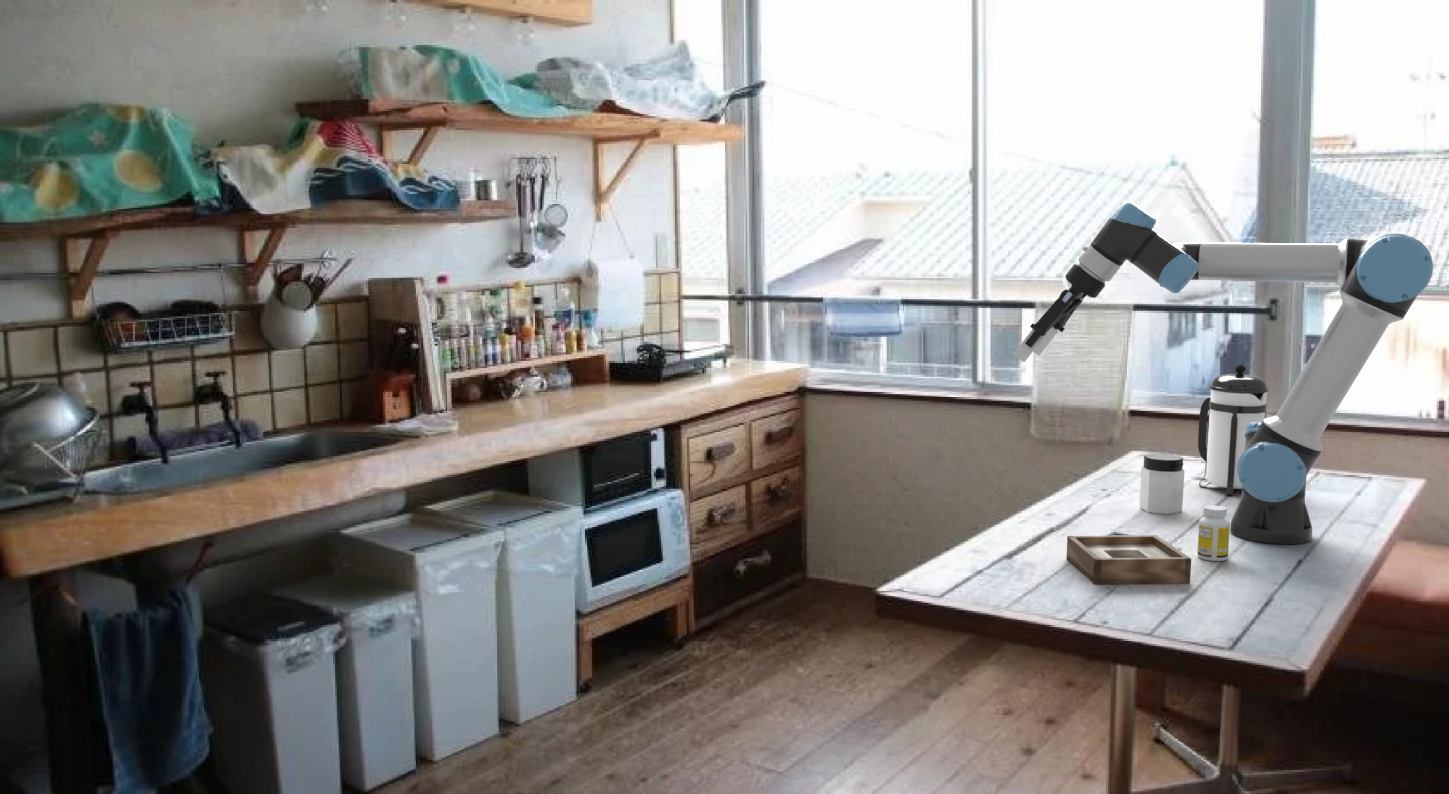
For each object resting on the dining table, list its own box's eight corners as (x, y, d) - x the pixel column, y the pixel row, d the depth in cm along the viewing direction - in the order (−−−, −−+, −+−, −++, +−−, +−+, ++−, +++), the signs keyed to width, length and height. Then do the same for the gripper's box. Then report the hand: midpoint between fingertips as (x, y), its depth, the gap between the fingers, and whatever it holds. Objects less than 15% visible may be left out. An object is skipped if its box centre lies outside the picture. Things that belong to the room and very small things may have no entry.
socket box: (1155, 558, 231) (1156, 535, 231) (1189, 583, 215) (1191, 558, 215) (1066, 559, 231) (1067, 536, 230) (1094, 584, 215) (1095, 559, 214)
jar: (1163, 516, 263) (1166, 461, 262) (1132, 508, 270) (1134, 455, 268) (1189, 511, 268) (1192, 457, 267) (1158, 503, 275) (1160, 451, 273)
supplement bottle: (1226, 555, 233) (1230, 505, 232) (1228, 563, 228) (1231, 512, 227) (1196, 553, 235) (1199, 503, 234) (1197, 560, 230) (1200, 509, 228)
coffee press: (1272, 487, 292) (1280, 362, 288) (1261, 500, 279) (1269, 369, 274) (1196, 478, 301) (1203, 357, 297) (1181, 490, 288) (1189, 364, 283)
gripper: (1088, 259, 256) (1025, 338, 264) (1064, 262, 234) (997, 349, 242) (1117, 280, 254) (1053, 359, 262) (1095, 286, 232) (1027, 372, 240)
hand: (1026, 354), depth 252 cm, fingers open, 13 cm apart
